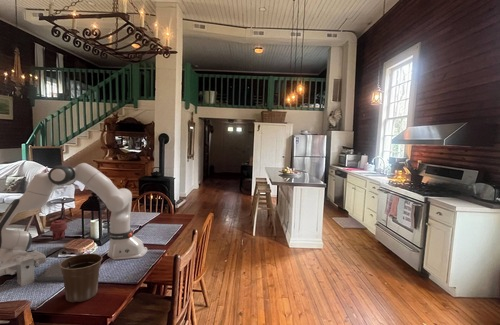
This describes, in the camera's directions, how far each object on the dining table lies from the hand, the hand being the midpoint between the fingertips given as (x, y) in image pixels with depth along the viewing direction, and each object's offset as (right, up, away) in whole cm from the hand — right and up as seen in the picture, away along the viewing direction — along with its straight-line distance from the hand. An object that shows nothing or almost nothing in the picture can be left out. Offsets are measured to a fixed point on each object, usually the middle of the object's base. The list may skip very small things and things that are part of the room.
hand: (25, 269), depth 132 cm
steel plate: (+11, -6, +9) cm, 15 cm away
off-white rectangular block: (-1, -7, +1) cm, 7 cm away
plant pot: (+32, -9, -8) cm, 35 cm away
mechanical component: (-23, -1, +57) cm, 61 cm away
